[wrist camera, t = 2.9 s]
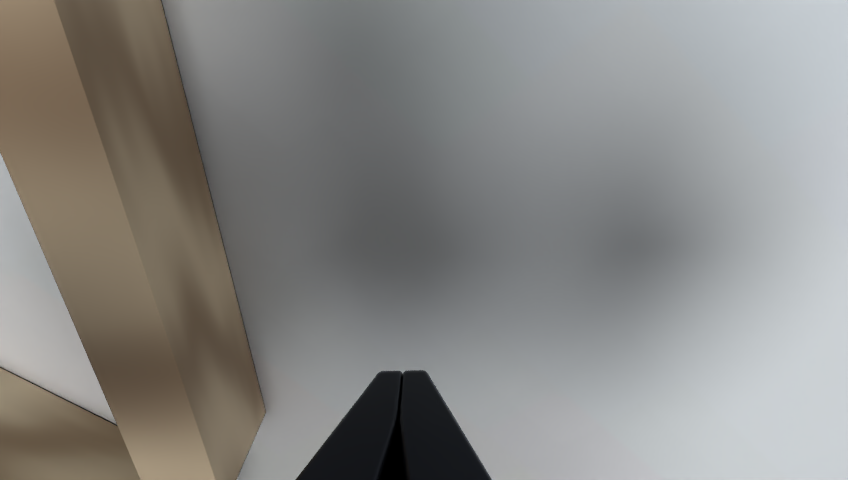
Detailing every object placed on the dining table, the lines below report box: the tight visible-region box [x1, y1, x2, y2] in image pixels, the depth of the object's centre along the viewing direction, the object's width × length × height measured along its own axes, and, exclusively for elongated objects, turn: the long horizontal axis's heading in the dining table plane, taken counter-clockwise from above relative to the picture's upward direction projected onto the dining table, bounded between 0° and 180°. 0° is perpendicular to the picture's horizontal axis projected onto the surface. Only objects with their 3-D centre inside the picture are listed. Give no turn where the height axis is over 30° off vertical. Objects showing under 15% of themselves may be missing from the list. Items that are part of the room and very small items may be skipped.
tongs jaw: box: [0, 0, 266, 480], centre depth 10 cm, size 22×2×4 cm, turn 3°
